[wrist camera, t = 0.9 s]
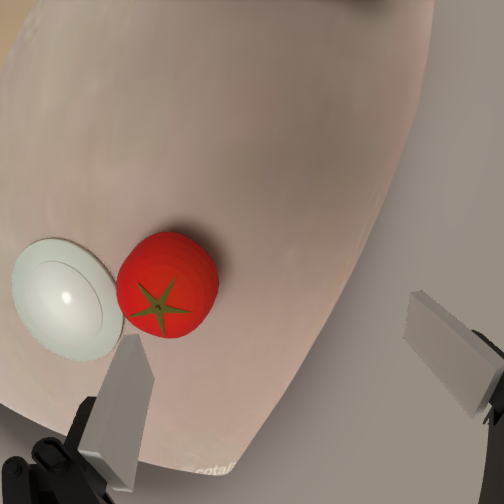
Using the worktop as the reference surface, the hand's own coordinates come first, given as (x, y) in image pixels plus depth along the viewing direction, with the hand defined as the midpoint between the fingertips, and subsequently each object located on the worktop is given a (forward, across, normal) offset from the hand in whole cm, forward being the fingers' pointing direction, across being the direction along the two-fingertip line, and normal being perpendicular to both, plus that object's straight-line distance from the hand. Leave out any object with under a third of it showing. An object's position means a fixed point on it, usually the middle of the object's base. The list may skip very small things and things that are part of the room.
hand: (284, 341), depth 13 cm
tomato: (+25, -10, -5) cm, 28 cm away
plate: (+25, -28, -8) cm, 38 cm away
